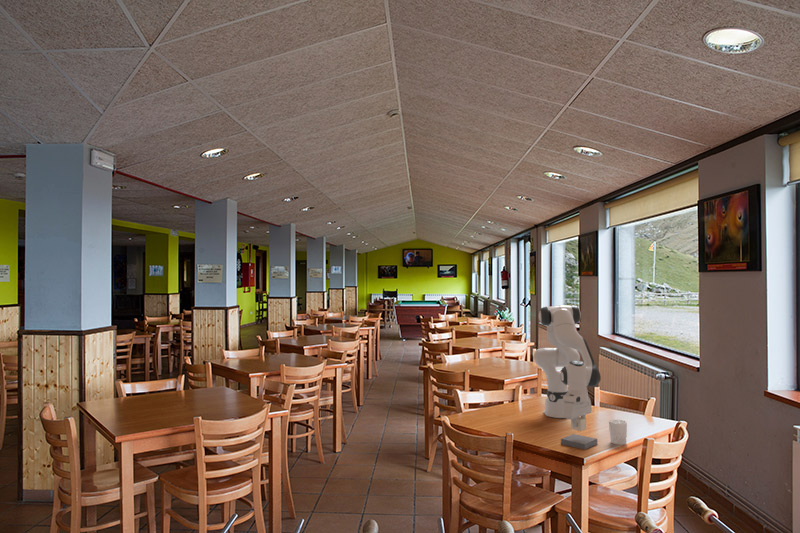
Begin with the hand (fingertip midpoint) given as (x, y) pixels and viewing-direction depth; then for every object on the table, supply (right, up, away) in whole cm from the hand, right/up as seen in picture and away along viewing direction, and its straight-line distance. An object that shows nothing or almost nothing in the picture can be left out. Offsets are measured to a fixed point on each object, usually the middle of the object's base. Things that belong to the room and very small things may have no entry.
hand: (578, 425), depth 243 cm
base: (0, -9, 0) cm, 9 cm away
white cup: (+19, -9, +1) cm, 21 cm away
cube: (0, -2, 0) cm, 2 cm away
